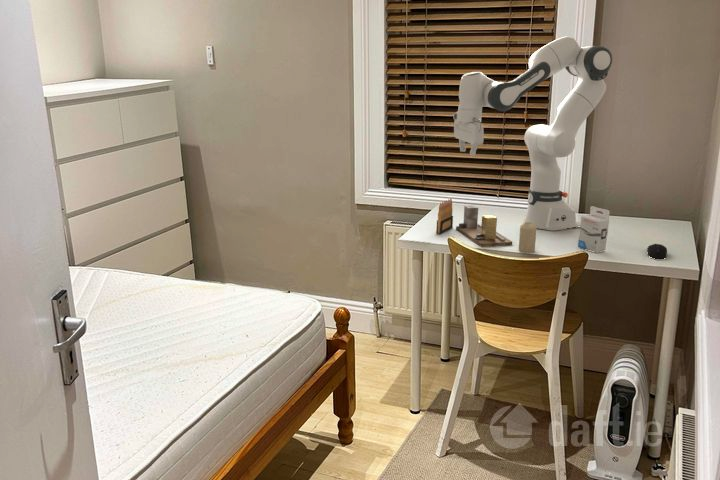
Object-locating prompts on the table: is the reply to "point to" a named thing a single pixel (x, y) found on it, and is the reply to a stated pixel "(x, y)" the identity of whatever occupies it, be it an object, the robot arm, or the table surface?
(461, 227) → the gauge board
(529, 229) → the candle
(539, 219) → the robot arm
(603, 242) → the ink box
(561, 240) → the table surface
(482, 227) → the block
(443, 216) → the ammunition clip
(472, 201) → the table surface
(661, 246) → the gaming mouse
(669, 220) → the table surface
